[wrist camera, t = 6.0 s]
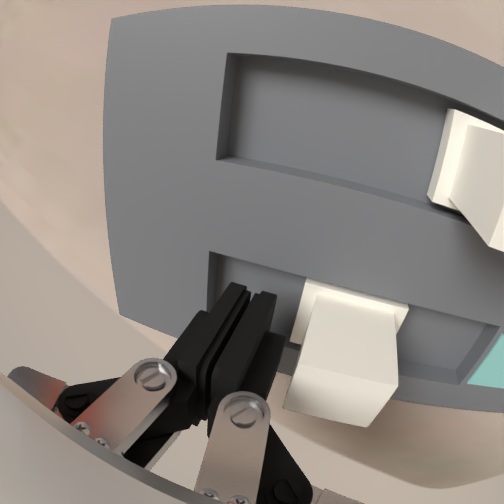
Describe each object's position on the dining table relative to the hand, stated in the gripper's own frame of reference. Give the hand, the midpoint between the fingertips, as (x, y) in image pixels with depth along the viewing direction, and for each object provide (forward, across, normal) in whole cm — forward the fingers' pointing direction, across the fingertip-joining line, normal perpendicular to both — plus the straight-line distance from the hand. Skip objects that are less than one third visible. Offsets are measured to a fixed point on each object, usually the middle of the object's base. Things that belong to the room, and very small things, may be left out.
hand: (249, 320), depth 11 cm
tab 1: (+2, -3, 0) cm, 4 cm away
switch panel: (+4, -4, -4) cm, 7 cm away
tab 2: (+2, -7, -7) cm, 10 cm away
